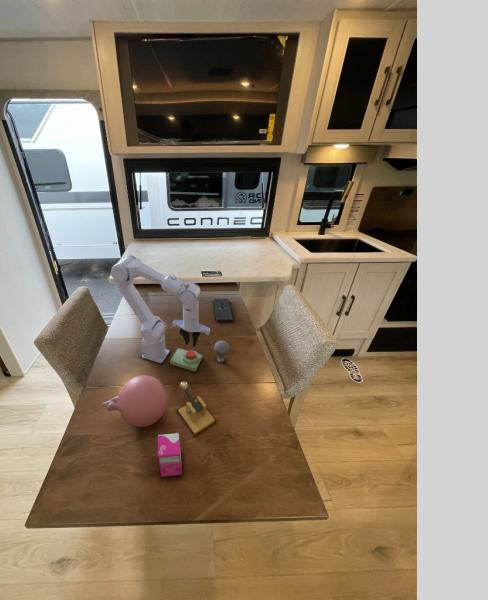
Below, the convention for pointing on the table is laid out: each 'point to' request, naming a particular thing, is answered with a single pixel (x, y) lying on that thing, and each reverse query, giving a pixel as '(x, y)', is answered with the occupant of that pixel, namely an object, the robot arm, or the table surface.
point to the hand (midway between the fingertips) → (191, 344)
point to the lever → (190, 396)
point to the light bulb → (221, 350)
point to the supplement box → (169, 455)
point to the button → (190, 355)
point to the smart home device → (223, 310)
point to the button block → (185, 360)
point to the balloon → (140, 401)
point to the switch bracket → (196, 416)
